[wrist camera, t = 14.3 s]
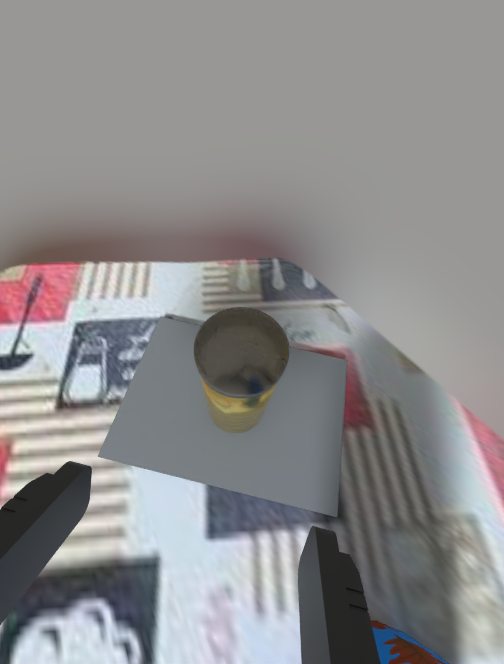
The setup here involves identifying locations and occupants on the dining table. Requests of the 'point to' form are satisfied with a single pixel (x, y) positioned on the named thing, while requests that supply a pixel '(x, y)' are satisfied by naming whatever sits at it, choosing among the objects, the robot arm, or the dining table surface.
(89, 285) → the dining table surface
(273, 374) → the canister
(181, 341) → the slate board
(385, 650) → the thermos
